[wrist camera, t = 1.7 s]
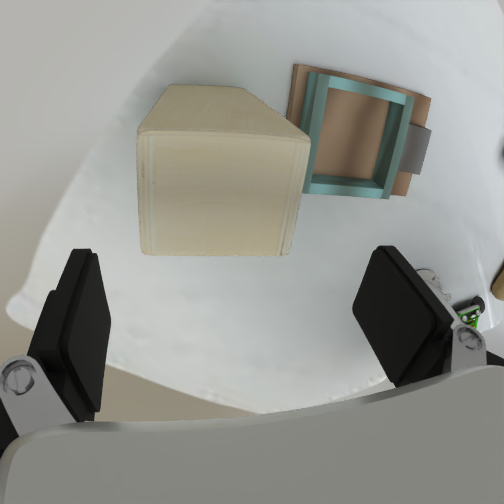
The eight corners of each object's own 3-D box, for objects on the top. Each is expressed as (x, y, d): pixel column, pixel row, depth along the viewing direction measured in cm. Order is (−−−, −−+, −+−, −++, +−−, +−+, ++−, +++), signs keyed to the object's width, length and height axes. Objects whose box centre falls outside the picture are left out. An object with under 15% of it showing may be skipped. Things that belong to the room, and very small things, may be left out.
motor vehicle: (478, 292, 61) (503, 323, 53) (452, 345, 72) (471, 374, 64) (443, 305, 60) (469, 339, 52) (419, 358, 71) (438, 390, 63)
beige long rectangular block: (164, 150, 33) (141, 268, 16) (167, 84, 29) (135, 125, 12) (236, 152, 35) (290, 267, 18) (244, 88, 31) (318, 135, 14)
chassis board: (424, 95, 34) (446, 103, 30) (399, 191, 41) (417, 206, 38) (294, 63, 30) (308, 65, 26) (276, 181, 38) (287, 197, 34)
